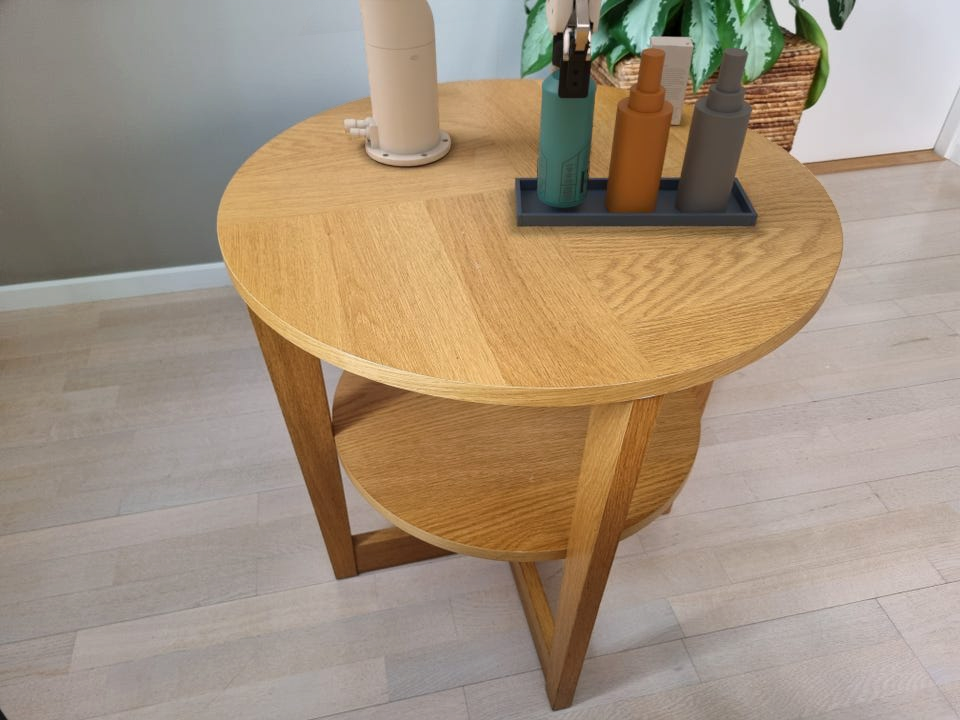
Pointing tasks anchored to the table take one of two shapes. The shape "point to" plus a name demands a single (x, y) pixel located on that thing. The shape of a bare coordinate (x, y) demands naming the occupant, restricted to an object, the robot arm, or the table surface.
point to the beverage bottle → (564, 141)
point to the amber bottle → (640, 140)
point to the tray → (596, 214)
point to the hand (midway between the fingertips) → (568, 80)
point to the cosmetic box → (675, 70)
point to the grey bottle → (715, 140)
